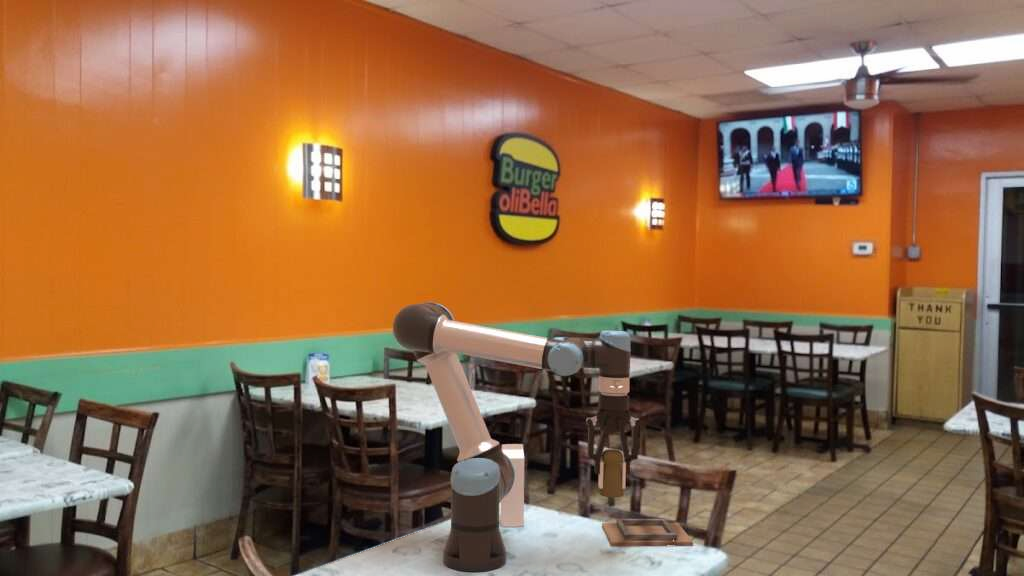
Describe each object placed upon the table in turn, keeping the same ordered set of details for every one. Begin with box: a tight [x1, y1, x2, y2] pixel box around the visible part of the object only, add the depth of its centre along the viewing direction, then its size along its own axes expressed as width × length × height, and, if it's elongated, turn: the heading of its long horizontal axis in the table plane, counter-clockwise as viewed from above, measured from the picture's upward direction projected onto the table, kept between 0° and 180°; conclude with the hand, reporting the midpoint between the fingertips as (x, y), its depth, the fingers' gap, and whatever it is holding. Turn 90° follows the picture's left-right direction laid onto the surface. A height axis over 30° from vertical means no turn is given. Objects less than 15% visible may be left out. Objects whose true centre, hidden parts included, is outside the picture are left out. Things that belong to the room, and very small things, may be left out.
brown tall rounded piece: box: [598, 448, 625, 499], centre depth 203 cm, size 6×6×11 cm
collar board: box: [601, 518, 694, 547], centre depth 217 cm, size 21×16×2 cm
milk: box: [500, 443, 525, 528], centre depth 226 cm, size 6×6×22 cm
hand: (611, 487), depth 203 cm, fingers closed on brown tall rounded piece, 5 cm apart
